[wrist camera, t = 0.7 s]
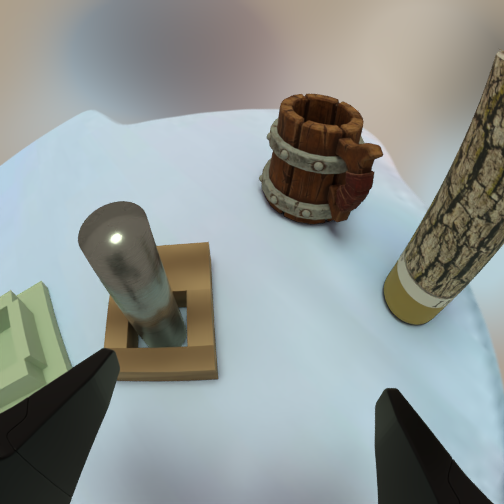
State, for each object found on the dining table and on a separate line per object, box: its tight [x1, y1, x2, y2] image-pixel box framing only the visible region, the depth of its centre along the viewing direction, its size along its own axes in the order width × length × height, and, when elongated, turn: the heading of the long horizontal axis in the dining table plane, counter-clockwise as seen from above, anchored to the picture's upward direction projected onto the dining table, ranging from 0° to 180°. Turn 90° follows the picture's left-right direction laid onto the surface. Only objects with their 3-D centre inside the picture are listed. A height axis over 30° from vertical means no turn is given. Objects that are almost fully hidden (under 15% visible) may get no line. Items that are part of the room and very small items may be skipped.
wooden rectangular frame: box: [104, 242, 218, 381], centre depth 26 cm, size 12×9×3 cm
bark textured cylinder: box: [384, 51, 504, 325], centre depth 19 cm, size 7×7×25 cm
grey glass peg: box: [78, 201, 187, 348], centre depth 20 cm, size 4×4×14 cm
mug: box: [259, 94, 383, 224], centre depth 32 cm, size 12×14×15 cm
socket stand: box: [0, 281, 72, 413], centre depth 21 cm, size 13×13×4 cm
